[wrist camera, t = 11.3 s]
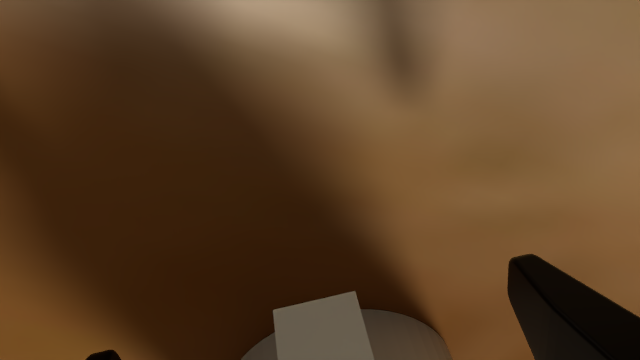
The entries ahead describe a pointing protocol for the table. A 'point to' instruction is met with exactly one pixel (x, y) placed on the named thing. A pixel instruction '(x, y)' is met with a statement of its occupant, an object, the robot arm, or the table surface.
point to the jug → (346, 334)
